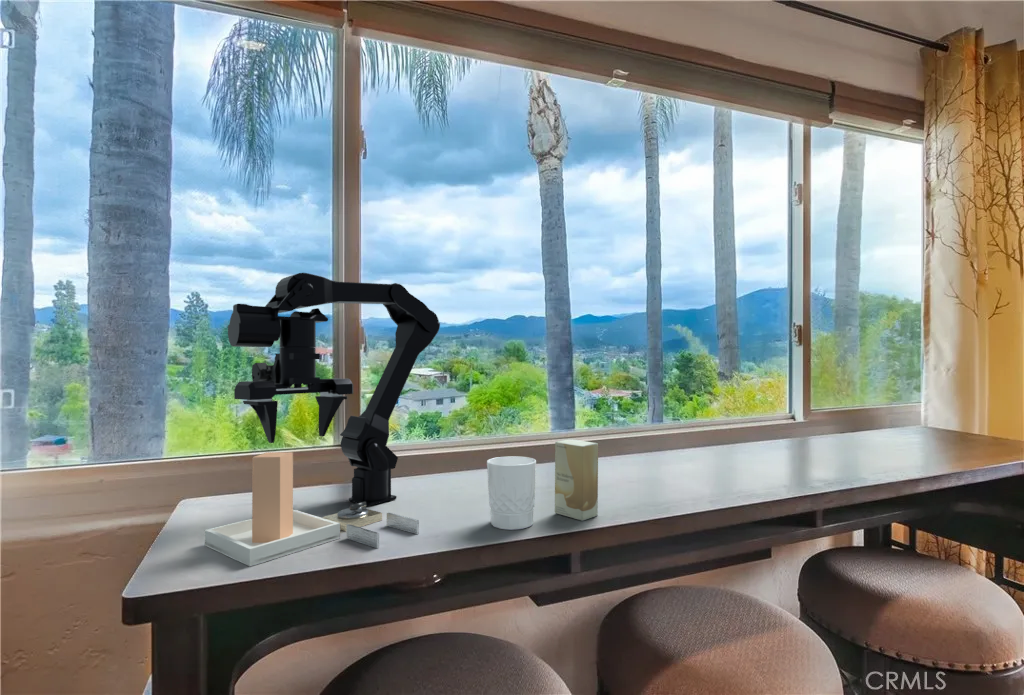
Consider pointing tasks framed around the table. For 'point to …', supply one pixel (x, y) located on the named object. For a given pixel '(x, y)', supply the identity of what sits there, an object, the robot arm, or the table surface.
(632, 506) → the table surface
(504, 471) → the white cup
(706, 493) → the table surface
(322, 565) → the table surface
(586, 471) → the skincare box
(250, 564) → the tray
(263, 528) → the tan rectangular block
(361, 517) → the bracket
